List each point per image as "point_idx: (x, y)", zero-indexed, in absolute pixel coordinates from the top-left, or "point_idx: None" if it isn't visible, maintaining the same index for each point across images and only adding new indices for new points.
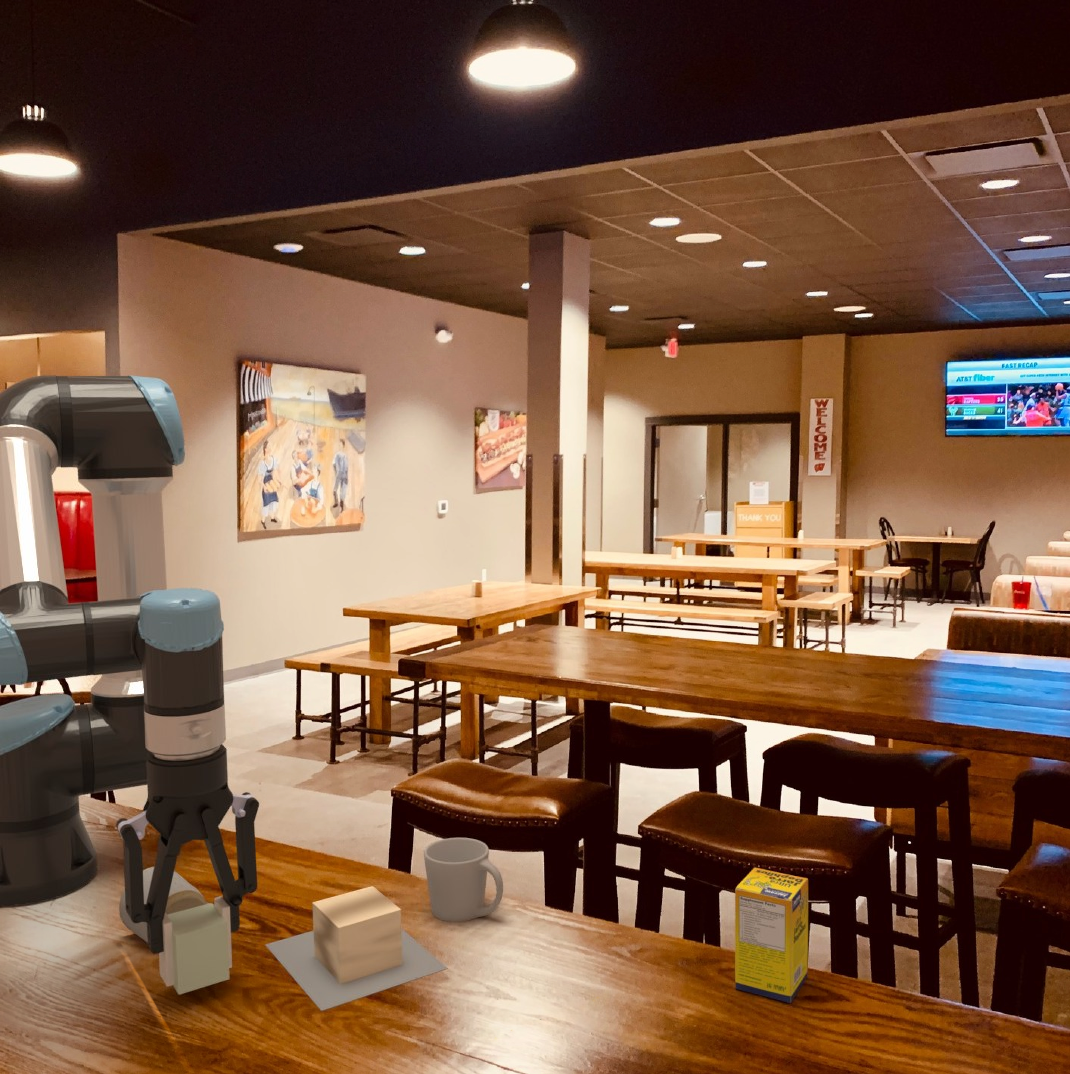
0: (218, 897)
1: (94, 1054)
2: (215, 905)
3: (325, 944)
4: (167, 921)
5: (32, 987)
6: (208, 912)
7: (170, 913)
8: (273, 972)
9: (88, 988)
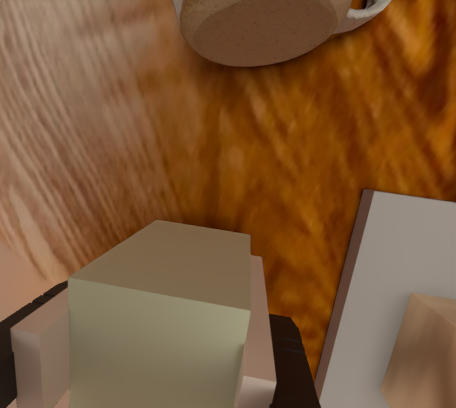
0: (259, 385)
1: (60, 267)
2: (242, 362)
3: (430, 381)
4: (31, 406)
5: (15, 10)
6: (207, 363)
7: (227, 22)
8: (338, 249)
9: (89, 83)
